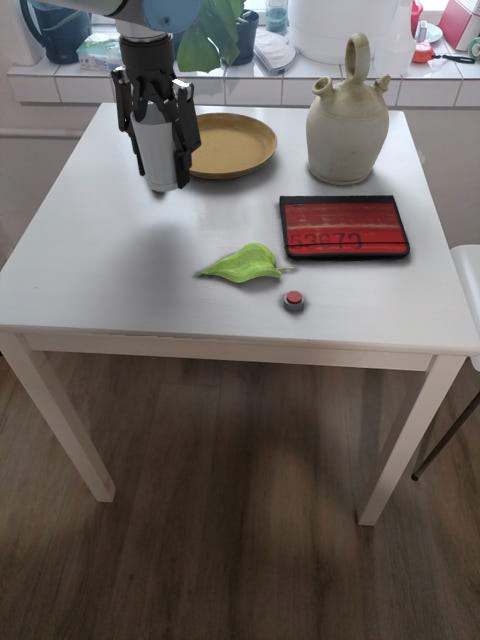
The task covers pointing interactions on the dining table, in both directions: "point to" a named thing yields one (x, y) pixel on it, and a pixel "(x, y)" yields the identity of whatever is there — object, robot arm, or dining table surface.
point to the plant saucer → (231, 146)
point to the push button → (293, 300)
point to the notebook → (342, 228)
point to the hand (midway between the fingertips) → (164, 178)
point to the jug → (347, 120)
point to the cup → (156, 149)
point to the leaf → (246, 264)
